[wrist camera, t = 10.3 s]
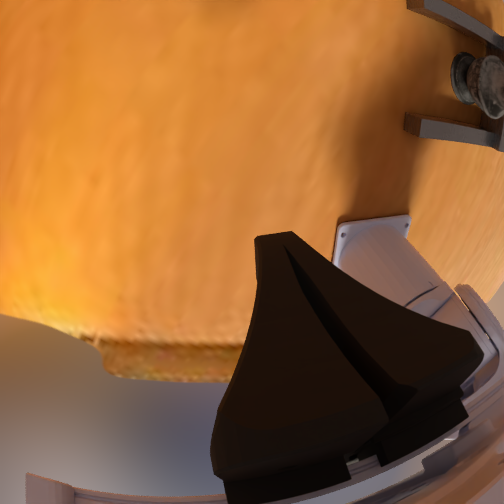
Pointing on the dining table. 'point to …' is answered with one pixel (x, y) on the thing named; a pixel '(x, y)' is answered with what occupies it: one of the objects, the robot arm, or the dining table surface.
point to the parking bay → (490, 130)
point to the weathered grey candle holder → (479, 82)
